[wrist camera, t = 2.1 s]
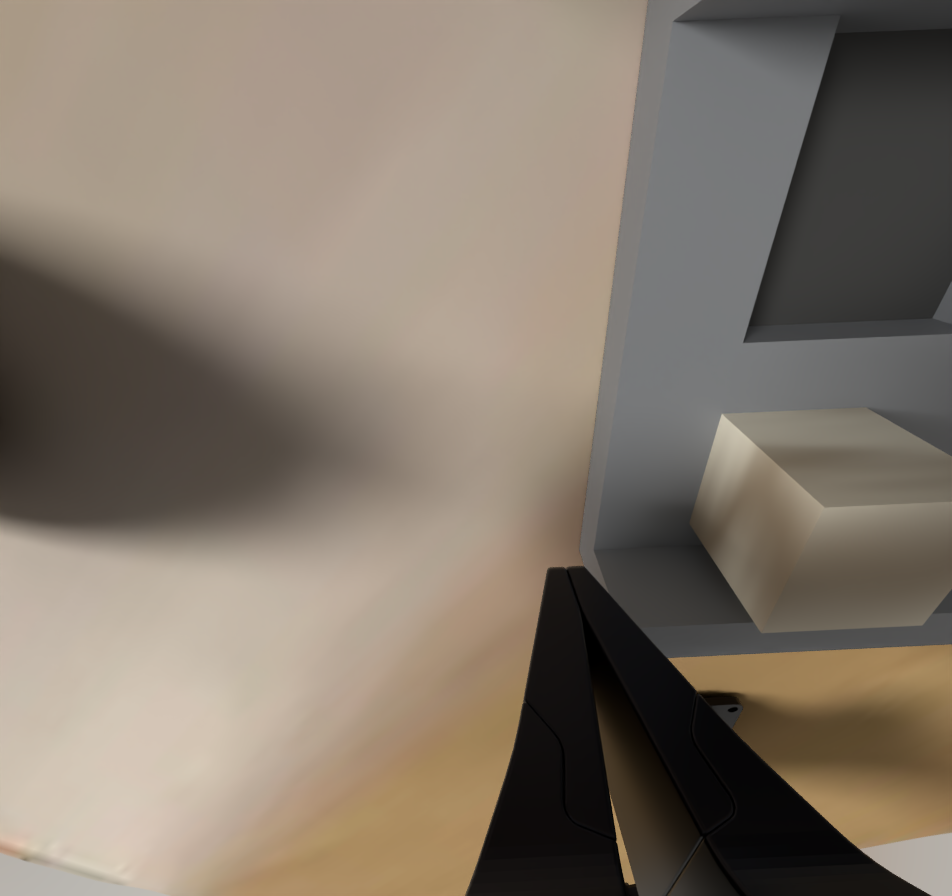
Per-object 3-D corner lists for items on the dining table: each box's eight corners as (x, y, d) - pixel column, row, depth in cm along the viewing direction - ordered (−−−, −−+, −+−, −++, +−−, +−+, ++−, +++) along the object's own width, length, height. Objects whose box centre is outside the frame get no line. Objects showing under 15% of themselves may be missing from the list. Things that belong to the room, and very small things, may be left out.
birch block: (811, 517, 14) (922, 625, 11) (689, 523, 14) (761, 632, 11) (865, 407, 12) (1024, 498, 9) (721, 413, 12) (824, 507, 9)
